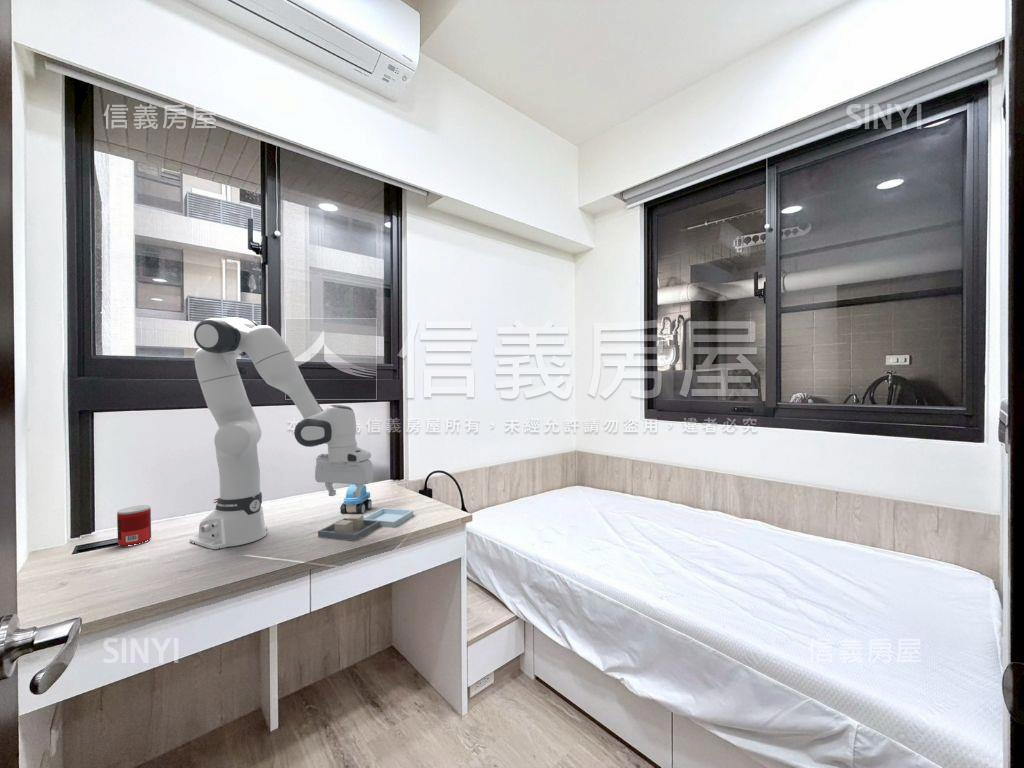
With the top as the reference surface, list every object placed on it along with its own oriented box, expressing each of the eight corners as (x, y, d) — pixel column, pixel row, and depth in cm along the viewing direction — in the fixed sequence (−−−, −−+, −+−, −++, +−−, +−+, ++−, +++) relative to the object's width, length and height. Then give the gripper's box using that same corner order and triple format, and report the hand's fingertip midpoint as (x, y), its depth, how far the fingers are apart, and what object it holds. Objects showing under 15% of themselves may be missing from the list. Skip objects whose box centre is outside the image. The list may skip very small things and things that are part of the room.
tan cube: (347, 530, 140) (346, 518, 140) (352, 526, 144) (352, 514, 144) (358, 530, 140) (358, 518, 140) (363, 526, 144) (363, 514, 144)
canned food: (157, 539, 136) (156, 505, 136) (129, 548, 129) (128, 513, 129) (140, 537, 138) (139, 504, 138) (111, 546, 131) (110, 511, 131)
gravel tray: (318, 538, 135) (317, 531, 135) (344, 524, 147) (344, 518, 147) (355, 542, 131) (355, 534, 131) (379, 528, 144) (379, 521, 144)
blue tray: (361, 525, 146) (360, 519, 146) (382, 514, 159) (382, 507, 159) (394, 529, 142) (394, 522, 142) (413, 516, 155) (413, 510, 155)
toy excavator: (379, 503, 173) (378, 462, 173) (360, 516, 157) (359, 471, 156) (359, 503, 174) (358, 462, 174) (339, 516, 157) (338, 470, 157)
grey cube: (334, 536, 135) (334, 523, 135) (342, 531, 139) (342, 519, 139) (345, 537, 134) (344, 524, 134) (353, 532, 138) (352, 520, 138)
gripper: (309, 455, 136) (311, 497, 136) (363, 456, 130) (365, 500, 130) (323, 452, 142) (324, 492, 142) (375, 453, 136) (376, 495, 136)
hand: (344, 496), depth 136 cm, fingers open, 8 cm apart
